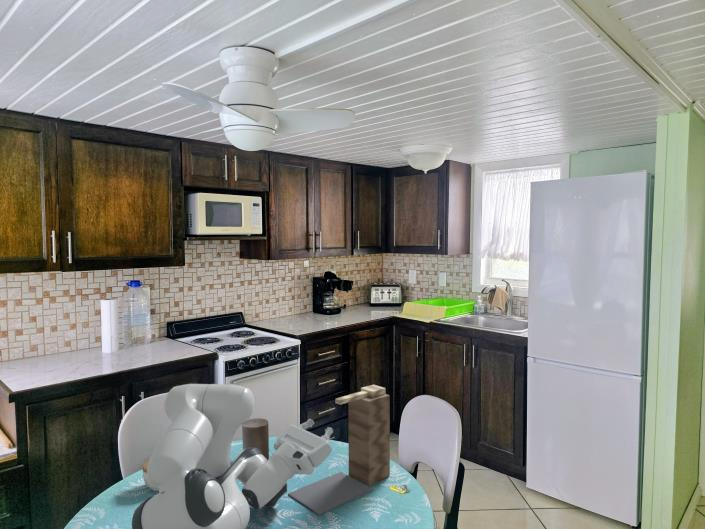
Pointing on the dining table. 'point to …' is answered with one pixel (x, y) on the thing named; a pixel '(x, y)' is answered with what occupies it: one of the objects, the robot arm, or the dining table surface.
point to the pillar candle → (256, 435)
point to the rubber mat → (330, 492)
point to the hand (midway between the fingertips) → (321, 424)
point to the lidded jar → (148, 478)
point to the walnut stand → (369, 438)
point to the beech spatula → (362, 394)
